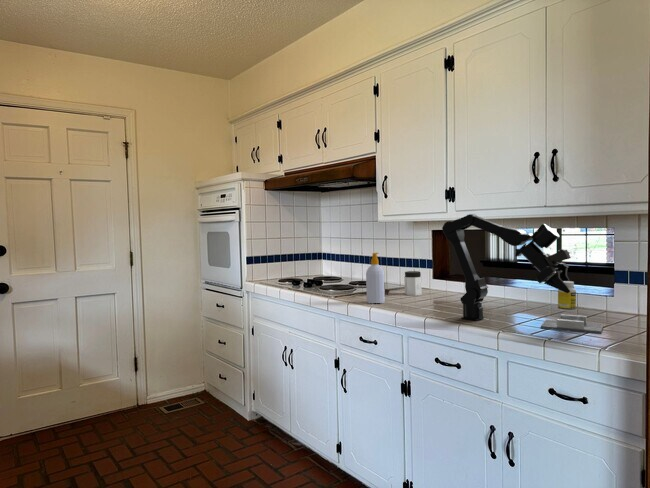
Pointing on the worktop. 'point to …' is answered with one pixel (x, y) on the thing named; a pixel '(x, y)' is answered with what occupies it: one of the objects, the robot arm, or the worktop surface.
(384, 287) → the cup and saucer
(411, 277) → the jar
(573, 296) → the supplement bottle
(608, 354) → the worktop surface
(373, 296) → the soap bottle
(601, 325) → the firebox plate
